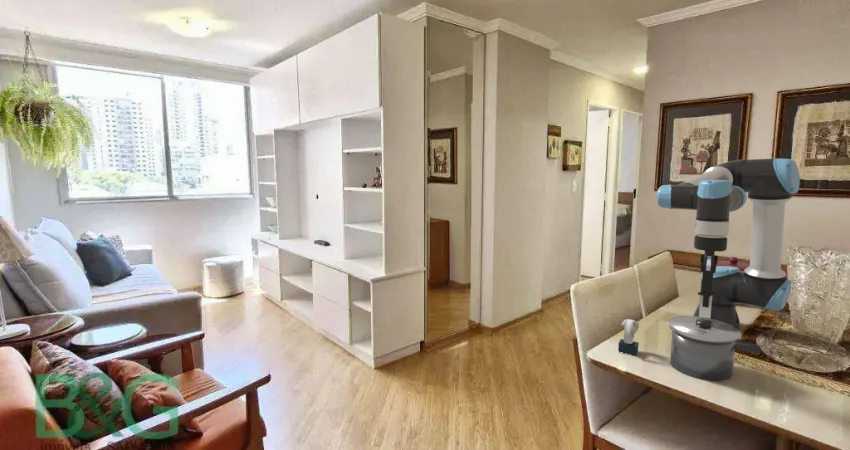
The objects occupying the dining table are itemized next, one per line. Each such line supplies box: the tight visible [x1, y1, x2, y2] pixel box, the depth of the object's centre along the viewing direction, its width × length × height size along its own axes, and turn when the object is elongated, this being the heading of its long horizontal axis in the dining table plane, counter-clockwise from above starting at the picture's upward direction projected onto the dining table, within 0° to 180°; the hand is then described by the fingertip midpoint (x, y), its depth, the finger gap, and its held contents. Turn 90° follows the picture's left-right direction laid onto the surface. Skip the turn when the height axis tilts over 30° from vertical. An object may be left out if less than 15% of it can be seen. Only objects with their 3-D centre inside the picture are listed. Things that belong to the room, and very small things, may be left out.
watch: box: [617, 318, 640, 357], centre depth 136 cm, size 6×8×11 cm
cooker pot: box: [669, 330, 761, 382], centre depth 123 cm, size 17×22×12 cm
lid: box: [668, 315, 742, 343], centre depth 123 cm, size 18×18×3 cm
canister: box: [716, 256, 750, 306], centre depth 188 cm, size 18×18×21 cm
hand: (704, 316), depth 116 cm, fingers closed
